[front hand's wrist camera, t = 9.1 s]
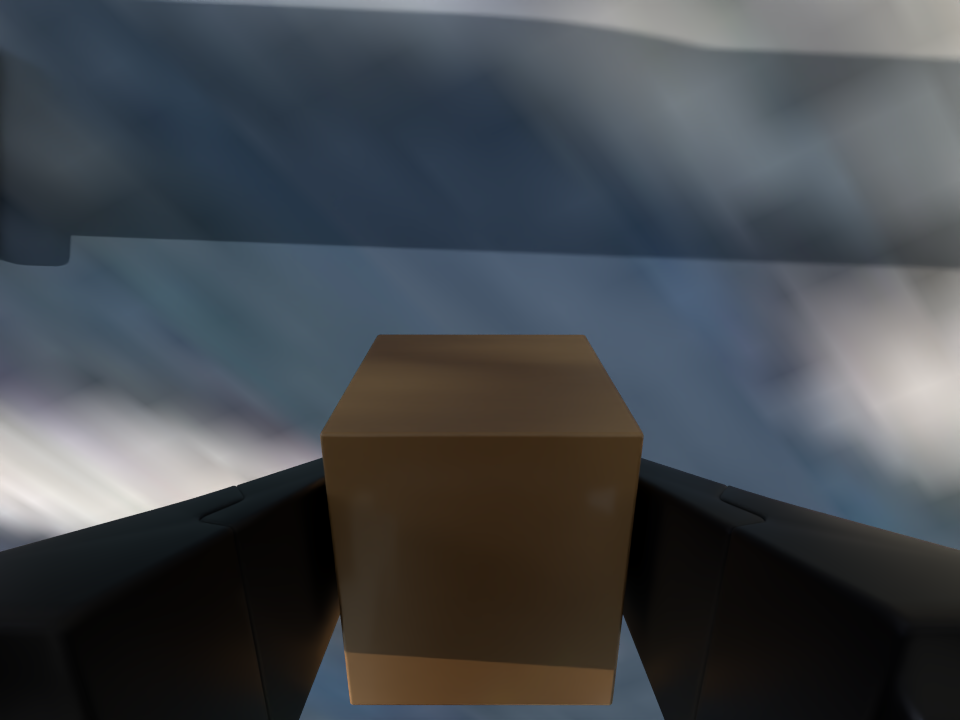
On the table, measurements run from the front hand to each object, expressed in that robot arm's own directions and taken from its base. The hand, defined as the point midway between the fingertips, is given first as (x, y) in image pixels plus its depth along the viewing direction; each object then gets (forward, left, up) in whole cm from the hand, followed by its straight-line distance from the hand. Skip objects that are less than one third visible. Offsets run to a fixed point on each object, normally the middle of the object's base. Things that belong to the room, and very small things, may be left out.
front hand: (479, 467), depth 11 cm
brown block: (0, 0, -1) cm, 1 cm away
